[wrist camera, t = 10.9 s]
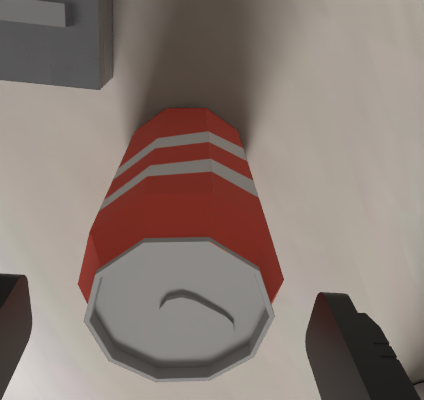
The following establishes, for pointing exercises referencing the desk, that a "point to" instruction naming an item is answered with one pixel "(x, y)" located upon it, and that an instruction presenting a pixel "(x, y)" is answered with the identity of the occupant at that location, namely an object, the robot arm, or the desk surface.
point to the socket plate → (57, 42)
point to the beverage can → (181, 254)
